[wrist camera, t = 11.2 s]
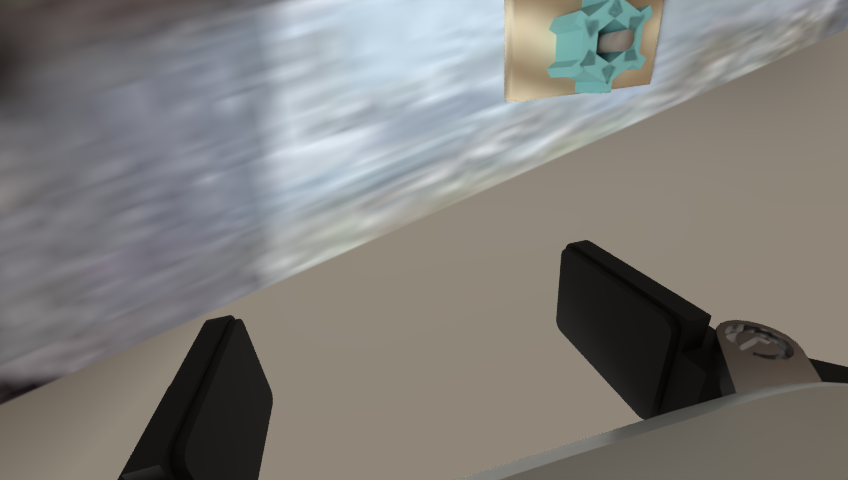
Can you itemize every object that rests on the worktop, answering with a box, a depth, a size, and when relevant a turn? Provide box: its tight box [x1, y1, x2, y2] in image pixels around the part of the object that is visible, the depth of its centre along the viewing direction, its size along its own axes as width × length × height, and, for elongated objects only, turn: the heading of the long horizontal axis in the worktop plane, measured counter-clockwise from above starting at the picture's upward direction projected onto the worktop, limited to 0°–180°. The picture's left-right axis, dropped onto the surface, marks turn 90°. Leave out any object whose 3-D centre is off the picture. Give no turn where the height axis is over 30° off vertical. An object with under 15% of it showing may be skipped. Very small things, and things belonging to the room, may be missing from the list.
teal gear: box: [547, 0, 653, 93], centre depth 32 cm, size 8×8×4 cm
